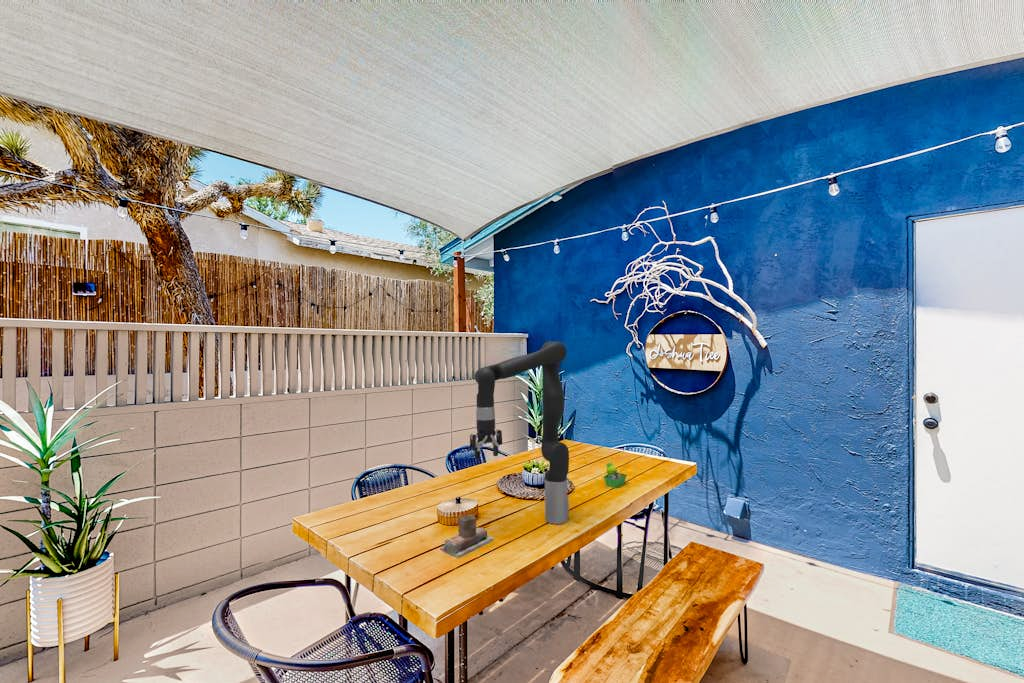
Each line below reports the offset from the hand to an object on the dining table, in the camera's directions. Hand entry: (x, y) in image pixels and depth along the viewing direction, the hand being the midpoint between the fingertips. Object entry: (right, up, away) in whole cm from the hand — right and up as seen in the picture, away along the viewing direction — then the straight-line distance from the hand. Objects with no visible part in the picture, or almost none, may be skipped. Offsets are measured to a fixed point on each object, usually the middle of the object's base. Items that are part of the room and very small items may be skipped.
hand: (486, 457), depth 173 cm
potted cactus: (+64, -29, +53) cm, 88 cm away
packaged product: (-6, -29, -14) cm, 33 cm away
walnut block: (-6, -24, -14) cm, 29 cm away
